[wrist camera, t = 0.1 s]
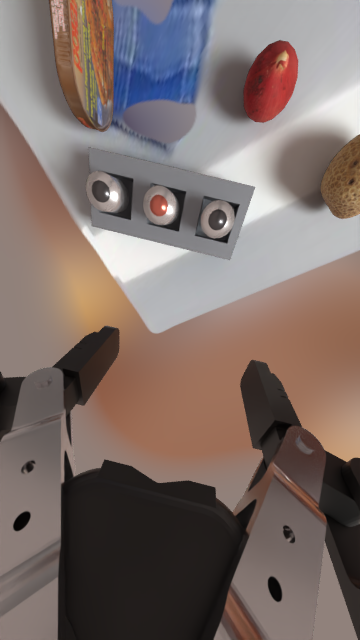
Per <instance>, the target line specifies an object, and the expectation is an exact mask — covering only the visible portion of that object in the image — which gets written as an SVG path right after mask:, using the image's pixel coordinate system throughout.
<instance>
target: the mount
mask: <svg viewBox="0 0 360 640" xmlns="http://www.w3.org/2000/svg"><path fill="white" fill-rule="evenodd" d="M89 171H90V174H91V173H93V172H95V171H102V172H105V173H107V174H108V175H110V176H112V177H114V178H116V179H118V180H120V181H121V182H122V183H123V184H124V185H125V186H126V188H127V190H128V194H129V203H128V206H127V208H126V209H125V210H124V211H123V212H120V213H114V212H106V211H101V210H98V209H97V208H95V207H94V206H93V205H92V204H91V221H92V226H93V227H97V228H102V229H106V230H110V231H114V232H118V233H122V234H126V235H130V236H134V237H138V238H142V239H146V240H150V241H154V242H158V243H162V244H166V245H170V246H174V247H179V248H183V249H187V250H191V251H195V252H199V253H203V254H207V255H211V256H215V257H219V258H223V259H227V260H230V259H231V256H232V253H233V250H234V247H235V244H236V242H237V239H238V236H239V233H240V230H241V227H242V224H243V221H244V218H245V215H246V212H247V210H248V207H249V204H250V201H251V198H252V195H253V192H254V189H255V187H253V186H249V185H245V184H241V183H237V182H232V181H228V180H224V179H220V178H216V177H212V176H207V175H203V174H199V173H195V172H191V171H187V170H182V169H178V168H174V167H170V166H166V165H162V164H157V163H153V162H149V161H145V160H141V159H137V158H132V157H128V156H124V155H120V154H116V153H112V152H107V151H103V150H99V149H95V148H91V147H89ZM154 186H164V187H166V188H167V189H168V190H170V191H171V192H172V193H173V194H174V195H175V196H176V198H177V199H178V202H179V207H180V210H179V215H178V217H177V219H176V220H175V221H174V222H173V223H171V224H168V225H157V224H154V223H153V222H151V221H150V220H149V219H148V218H147V216H146V214H145V212H144V208H143V201H144V197H145V194H146V193H147V191H148V190H149V189H150V188H152V187H154ZM217 200H222V201H225V202H227V203H228V204H230V205H231V207H232V209H233V211H234V216H235V219H234V224H233V227H232V229H231V230H230V231H229V233H228V234H226V235H225V236H223V237H221V238H211V237H209V236H207V235H206V234H205V233H204V231H203V229H202V227H201V216H202V213H203V211H204V209H205V208H206V206H207V205H209V204H210V203H211V202H213V201H217Z"/></svg>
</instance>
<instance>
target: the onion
mask: <svg viewBox="0 0 360 640" xmlns="http://www.w3.org/2000/svg"><path fill="white" fill-rule="evenodd" d="M297 75H298V59H297V55H296V52H295V49H294V48H293V47H292V46H291V45H290V43H289V42H286V41H281V40H279V41H276V42H274V43H272V44H269V45H268V46H267V47H266V48H265V49H264V50H263V51H262V52H261V53H260V54H259V55H258V56H257V58H256V59H255V61H254V63H253V65H252V66H251V68H250V70H249V73H248V75H247V79H246V83H245V86H244V93H243V95H244V108H245V111H246V113H247V115H248V117H249V118H251V119H252V120H254V121H255V122H263V123H264V122H266V121H269V120H272V119H273V118H274V117H275V116H276V115H277V114H279V113H280V112H281V111H282V110H283V109H284V108H285V106H286V104H287V103H288V101H289V99H290V98H291V96H292V94H293V91H294V87H295V84H296V81H297Z"/></svg>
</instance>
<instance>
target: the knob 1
mask: <svg viewBox="0 0 360 640" xmlns="http://www.w3.org/2000/svg"><path fill="white" fill-rule="evenodd" d="M86 193H87V196H88V199H89V201H90V202H91V204H92V205H93V206H94V207H95V208H97V209H98V210H101V211H106V212H114V213H120V212H123V211H124V210H125V209H126V208H127V206H128V203H129V194H128V190H127V188H126V186H125V185H124V184H123V183H122V182H121V181H120V180H118V179H116V178H114V177H112V176H110V175H108V174H107V173H105V172H102V171H95V172H93V173H91V174H90V175H89V177H88V178H87V181H86Z"/></svg>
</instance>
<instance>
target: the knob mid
mask: <svg viewBox="0 0 360 640" xmlns="http://www.w3.org/2000/svg"><path fill="white" fill-rule="evenodd" d="M143 208H144V212H145V214H146V216H147V218H148V219H149V220H150V221H151V222H153V223H154V224H157V225H168V224H171V223H173V222H174V221H175V220H176V219H177V217H178V215H179V210H180V207H179V202H178V199H177V198H176V196H175V195H174V194H173V193H172V192H171V191H170V190H168V189H167V188H166V187H164V186H154V187H152V188H150V189H149V190H148V191H147V193H146V194H145V197H144V201H143Z"/></svg>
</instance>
